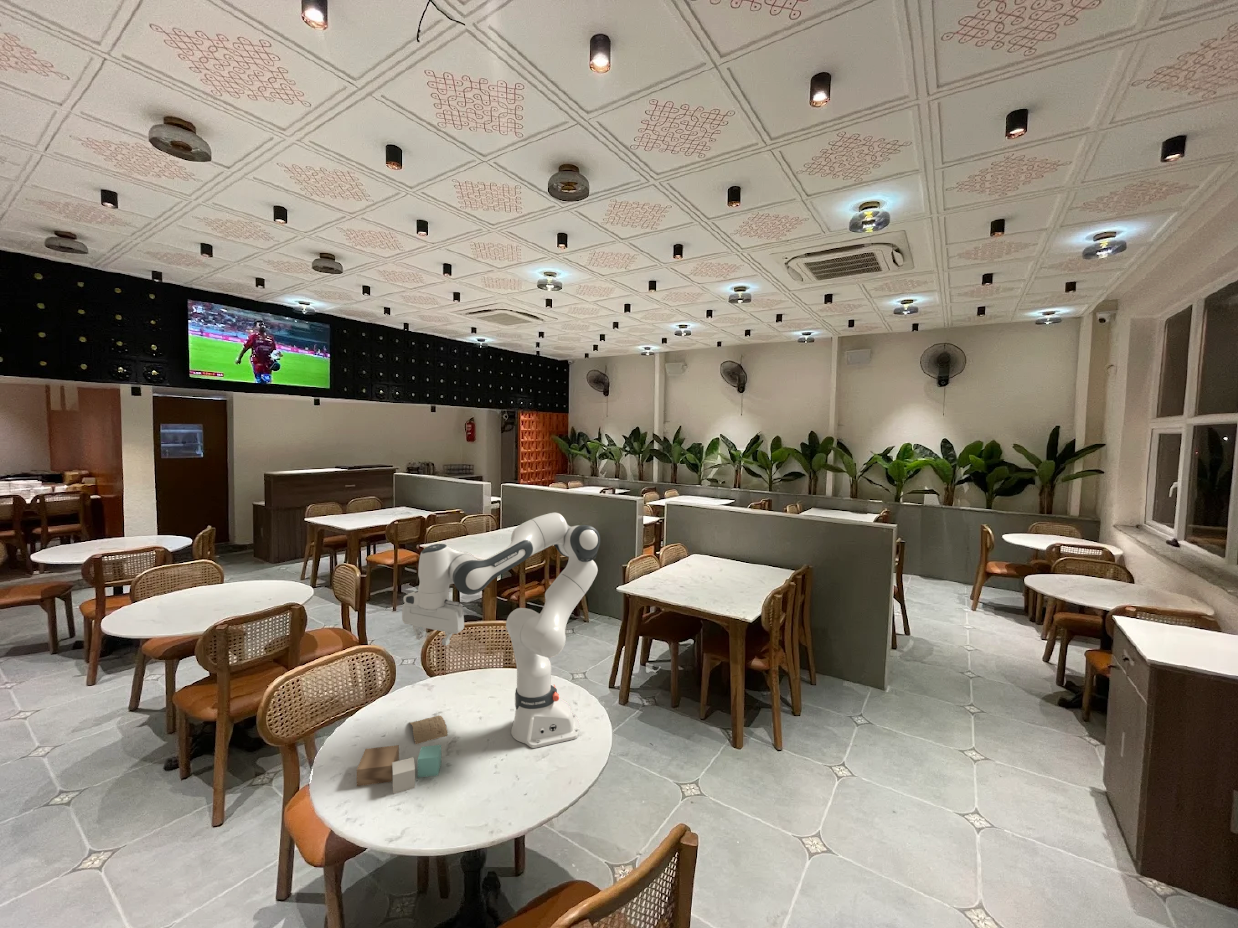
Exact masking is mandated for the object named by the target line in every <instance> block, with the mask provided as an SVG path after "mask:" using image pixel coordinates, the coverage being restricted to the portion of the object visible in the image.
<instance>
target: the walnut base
mask: <svg viewBox="0 0 1238 928" xmlns="http://www.w3.org/2000/svg"><path fill="white" fill-rule="evenodd" d="M399 748H400V744H398V745H397V744H396V745H395V744H394V745H389V746H380V747H371V748H365V750H364V751H363V754H362V757H361V759H360V761H359V763H358V765H357V767H356V787H362V786H368V785H378V784H384V783H386V784H387V783H392V762H396V761H400V749H399Z"/></svg>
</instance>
